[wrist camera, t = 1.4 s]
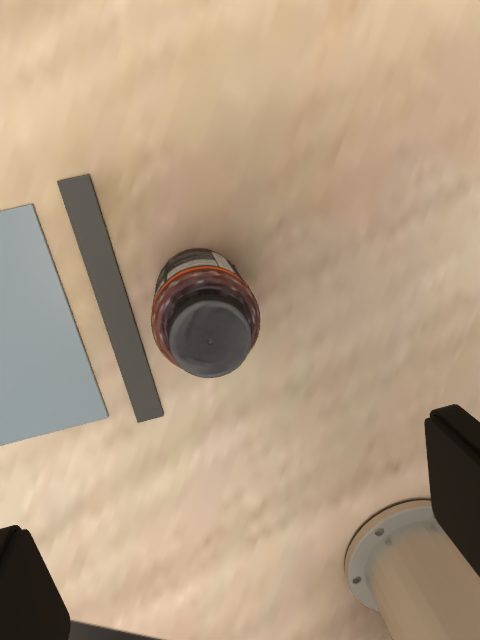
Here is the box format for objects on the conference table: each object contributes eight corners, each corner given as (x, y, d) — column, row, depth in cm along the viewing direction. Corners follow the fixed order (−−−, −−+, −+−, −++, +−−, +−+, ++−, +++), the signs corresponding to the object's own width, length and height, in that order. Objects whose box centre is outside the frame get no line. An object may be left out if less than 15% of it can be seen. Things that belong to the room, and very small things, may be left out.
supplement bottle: (240, 325, 33) (270, 395, 22) (158, 329, 32) (150, 403, 22) (239, 245, 31) (273, 279, 21) (154, 247, 31) (142, 283, 20)
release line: (89, 174, 29) (88, 174, 28) (163, 413, 34) (163, 416, 34) (58, 181, 28) (56, 181, 28) (138, 420, 34) (138, 422, 34)
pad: (32, 204, 29) (31, 204, 28) (108, 415, 34) (108, 417, 34) (-126, 239, 28) (-129, 240, 28) (-24, 450, 33) (-26, 452, 33)
